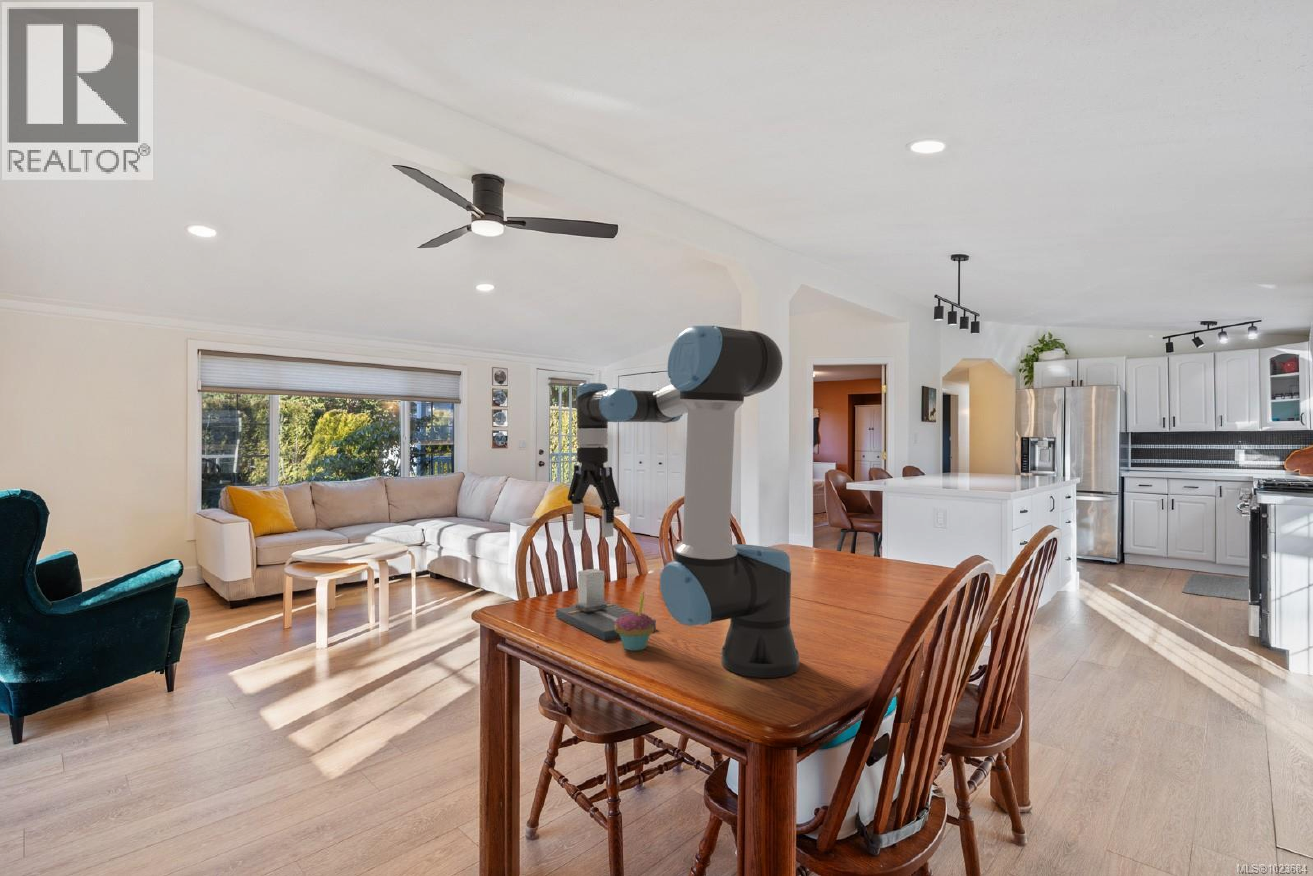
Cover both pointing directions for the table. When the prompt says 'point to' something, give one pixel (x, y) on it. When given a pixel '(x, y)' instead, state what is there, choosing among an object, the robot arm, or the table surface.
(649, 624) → the cupcake
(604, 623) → the board
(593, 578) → the block
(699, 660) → the table surface
